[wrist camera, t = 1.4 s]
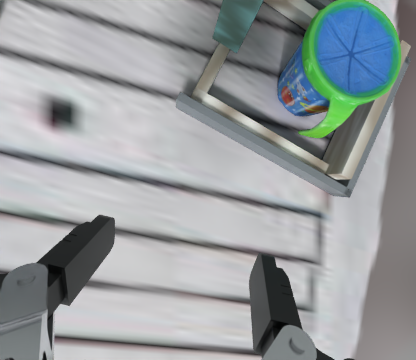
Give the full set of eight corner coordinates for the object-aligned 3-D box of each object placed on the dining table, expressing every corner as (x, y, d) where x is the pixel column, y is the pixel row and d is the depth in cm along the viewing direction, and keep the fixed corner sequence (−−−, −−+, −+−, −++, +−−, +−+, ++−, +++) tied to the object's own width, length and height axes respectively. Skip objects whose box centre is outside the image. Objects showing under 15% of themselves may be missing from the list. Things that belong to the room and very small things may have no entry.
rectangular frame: (175, 107, 29) (176, 99, 26) (249, -29, 30) (257, -52, 27) (333, 195, 32) (349, 197, 29) (390, 69, 34) (411, 58, 31)
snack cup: (282, 27, 31) (334, -47, 21) (344, 56, 33) (420, 1, 23) (250, 129, 30) (289, 103, 20) (315, 154, 32) (381, 141, 22)
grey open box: (182, 99, 28) (192, 15, 14) (247, -22, 30) (315, -209, 16) (323, 179, 32) (448, 177, 17) (375, 66, 33) (529, -22, 19)
